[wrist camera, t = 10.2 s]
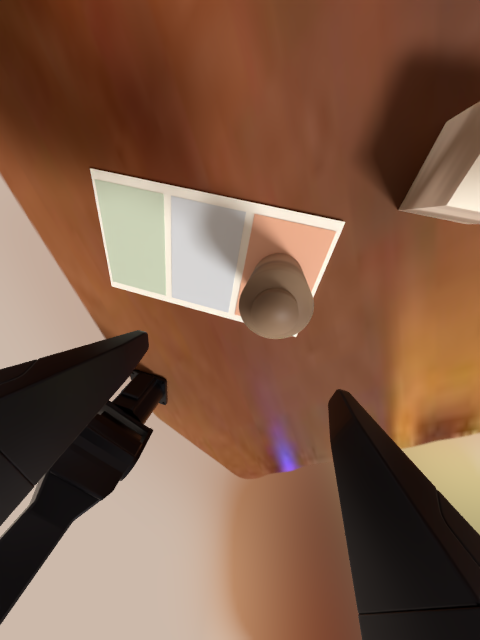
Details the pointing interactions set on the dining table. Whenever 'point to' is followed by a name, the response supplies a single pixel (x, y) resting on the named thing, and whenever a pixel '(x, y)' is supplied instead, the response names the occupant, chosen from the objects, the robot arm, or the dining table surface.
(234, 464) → the dining table surface
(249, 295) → the walnut pawn
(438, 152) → the cream box
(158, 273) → the game board
